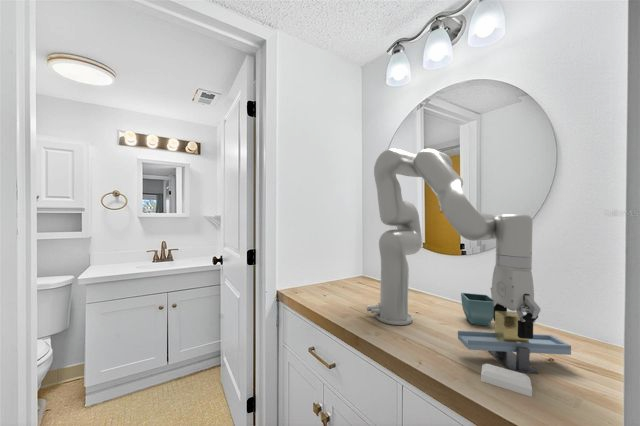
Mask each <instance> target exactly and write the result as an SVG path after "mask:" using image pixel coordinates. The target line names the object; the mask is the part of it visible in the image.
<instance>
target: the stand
mask: <svg viewBox="0 0 640 426" xmlns="http://www.w3.org/2000/svg"><path fill="white" fill-rule="evenodd" d="M487 352H488V354H491V355H492V356H493V358H495V359H496V360H497V361H498V362H499V363H500V364H502V365H503V366H504V367H505V369H508V370H512V371H515V372H519V373H523V374H535V375H538V374H539V371H538V370H537V369H536V368H534V367H533V366H532V365H530V361H531V360H530V357H531V356H530V354H531V353H530V349H528V348H527V347H516V352H505V351H487Z"/></svg>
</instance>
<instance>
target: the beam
mask: <svg viewBox="0 0 640 426" xmlns="http://www.w3.org/2000/svg"><path fill="white" fill-rule="evenodd" d="M457 339H458V341H459V342H461V344H463V346H464V347H466V348H467V349H468V350H469V351H487V352H488V351H505V352H513V353H516V347H527V348H528V349H530V354H544V355H545V354H548V355H564V356H565V355H566V356H569V355H570V356H571V355H572V345H571V344H569V343H568V342H565V341H564V340H561V339H560V338H557V337H556V336H554V335H553V334H545V333H544V334H543V333H541V334H540V333H533V338H532V339H529V343H527V342H517V341H516V342H507V341H499V340H497V339H496V338H495V331H476V330H475V331H474V330H460V329H459V330H457Z"/></svg>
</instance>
